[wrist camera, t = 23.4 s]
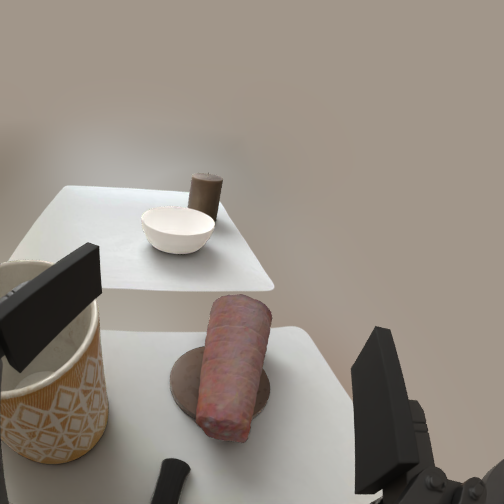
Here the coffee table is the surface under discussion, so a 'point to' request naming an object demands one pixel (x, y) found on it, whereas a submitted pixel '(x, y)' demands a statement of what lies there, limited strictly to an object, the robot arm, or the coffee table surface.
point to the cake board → (188, 383)
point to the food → (232, 366)
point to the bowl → (177, 229)
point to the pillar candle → (205, 194)
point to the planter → (54, 385)
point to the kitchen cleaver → (170, 481)
